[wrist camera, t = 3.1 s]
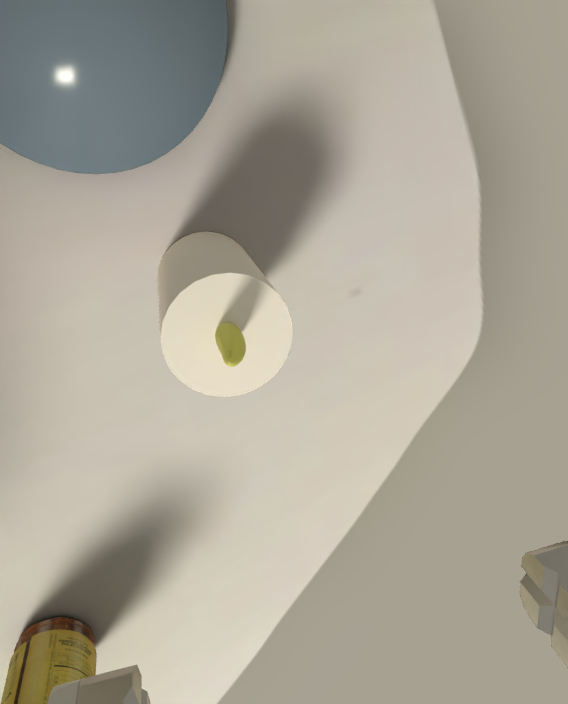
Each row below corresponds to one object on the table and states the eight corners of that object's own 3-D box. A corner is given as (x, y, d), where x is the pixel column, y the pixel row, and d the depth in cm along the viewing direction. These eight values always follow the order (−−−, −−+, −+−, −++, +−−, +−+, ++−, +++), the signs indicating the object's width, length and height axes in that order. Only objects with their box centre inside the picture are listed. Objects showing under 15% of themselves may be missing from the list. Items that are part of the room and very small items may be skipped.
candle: (208, 346, 37) (243, 474, 23) (135, 280, 34) (127, 381, 20) (275, 282, 36) (351, 376, 23) (207, 210, 33) (247, 267, 20)
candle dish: (243, 152, 32) (247, 153, 31) (-20, 190, 30) (-28, 193, 29) (196, -173, 26) (199, -190, 25) (-139, -157, 24) (-157, -175, 22)
